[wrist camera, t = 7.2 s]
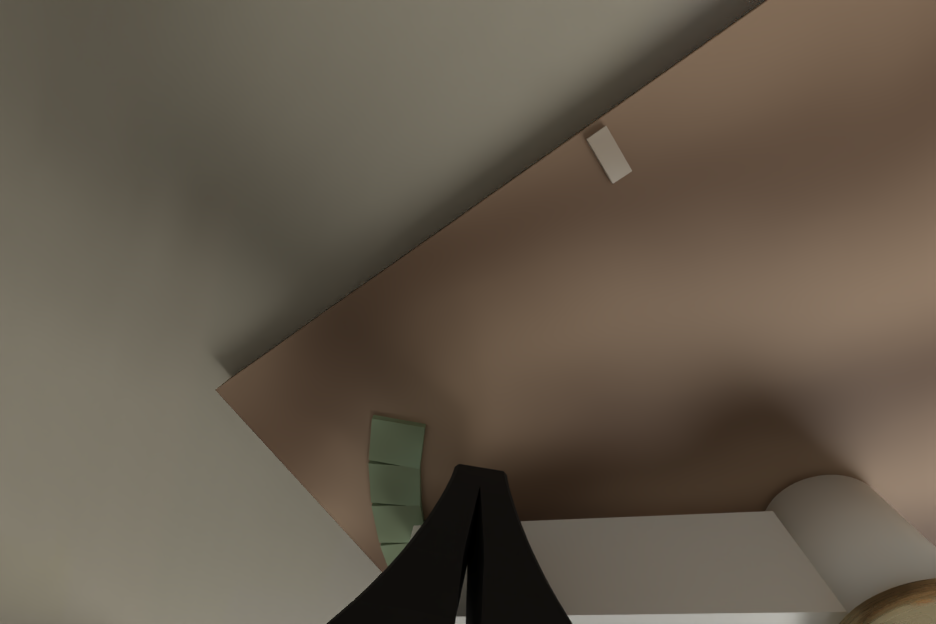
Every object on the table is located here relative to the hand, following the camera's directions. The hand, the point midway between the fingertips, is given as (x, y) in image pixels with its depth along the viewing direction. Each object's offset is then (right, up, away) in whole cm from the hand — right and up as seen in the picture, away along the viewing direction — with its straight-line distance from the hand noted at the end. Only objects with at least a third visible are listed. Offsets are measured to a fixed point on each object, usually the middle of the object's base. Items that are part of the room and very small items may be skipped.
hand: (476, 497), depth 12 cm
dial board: (+6, +1, +1) cm, 6 cm away
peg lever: (+5, -2, +2) cm, 6 cm away
